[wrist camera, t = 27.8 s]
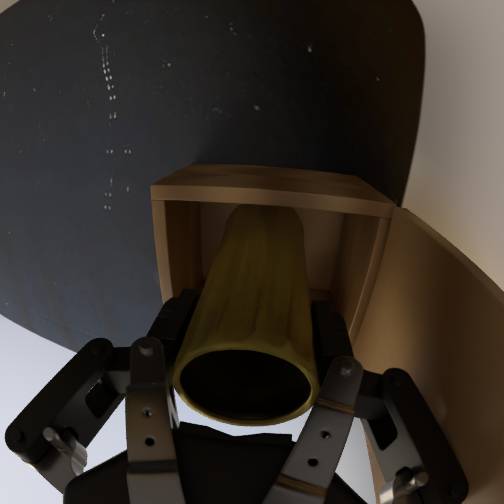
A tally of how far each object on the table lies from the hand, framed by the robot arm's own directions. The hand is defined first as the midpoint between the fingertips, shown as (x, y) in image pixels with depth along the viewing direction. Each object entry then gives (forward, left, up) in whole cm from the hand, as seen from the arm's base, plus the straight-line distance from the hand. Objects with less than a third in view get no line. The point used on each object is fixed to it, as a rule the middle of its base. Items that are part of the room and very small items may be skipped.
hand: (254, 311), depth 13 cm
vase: (0, 0, -10) cm, 10 cm away
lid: (-5, +4, +5) cm, 8 cm away
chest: (0, 0, -10) cm, 10 cm away
